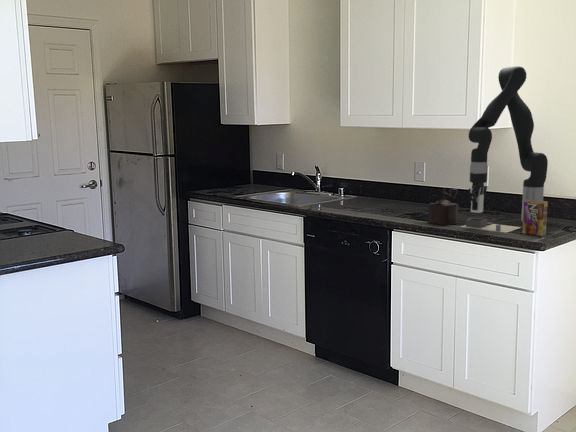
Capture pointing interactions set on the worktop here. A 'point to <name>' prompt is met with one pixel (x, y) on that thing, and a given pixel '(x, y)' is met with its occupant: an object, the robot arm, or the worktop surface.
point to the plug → (479, 204)
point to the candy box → (535, 217)
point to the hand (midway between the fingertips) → (477, 209)
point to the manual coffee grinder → (444, 210)
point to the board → (488, 225)
